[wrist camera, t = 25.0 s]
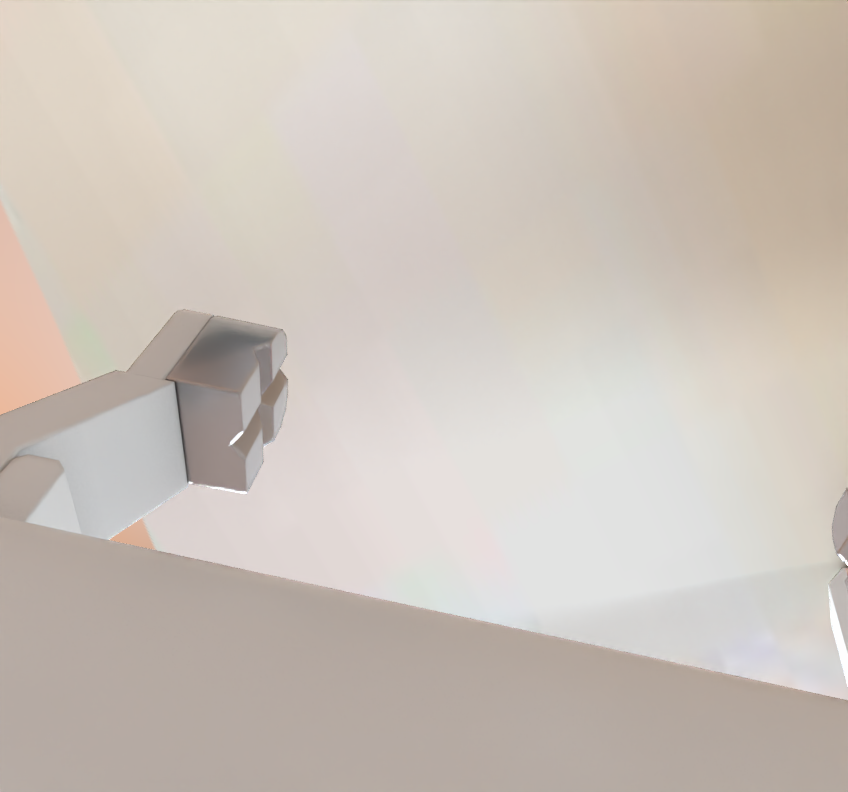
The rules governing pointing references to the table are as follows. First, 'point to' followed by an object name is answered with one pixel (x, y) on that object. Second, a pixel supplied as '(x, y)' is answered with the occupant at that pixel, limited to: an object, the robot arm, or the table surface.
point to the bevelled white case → (840, 615)
